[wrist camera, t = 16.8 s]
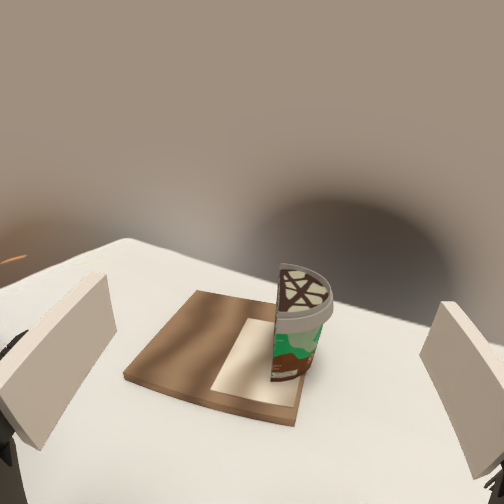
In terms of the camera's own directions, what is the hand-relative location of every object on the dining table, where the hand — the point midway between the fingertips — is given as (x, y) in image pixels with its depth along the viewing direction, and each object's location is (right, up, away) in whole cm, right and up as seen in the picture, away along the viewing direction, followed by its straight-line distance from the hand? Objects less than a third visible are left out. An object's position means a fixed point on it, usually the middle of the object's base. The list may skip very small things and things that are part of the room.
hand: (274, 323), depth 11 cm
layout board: (-3, -10, +28) cm, 30 cm away
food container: (+5, -10, +25) cm, 27 cm away
